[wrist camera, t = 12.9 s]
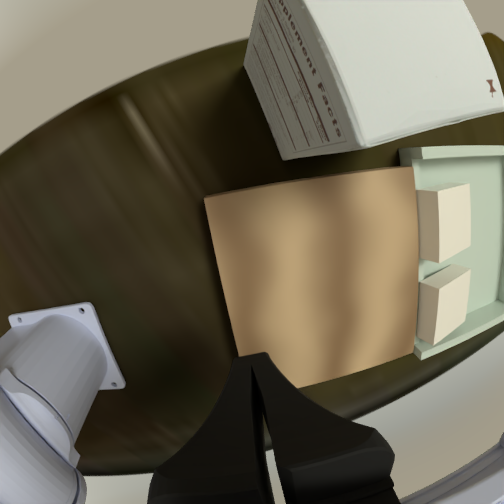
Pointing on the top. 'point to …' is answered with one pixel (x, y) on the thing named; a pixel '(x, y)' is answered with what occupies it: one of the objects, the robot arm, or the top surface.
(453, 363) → the top surface
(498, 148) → the grey-green tray
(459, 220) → the near cream tile
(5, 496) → the robot arm
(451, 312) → the far cream tile
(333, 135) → the supplement box
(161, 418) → the top surface
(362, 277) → the oak board
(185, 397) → the top surface
